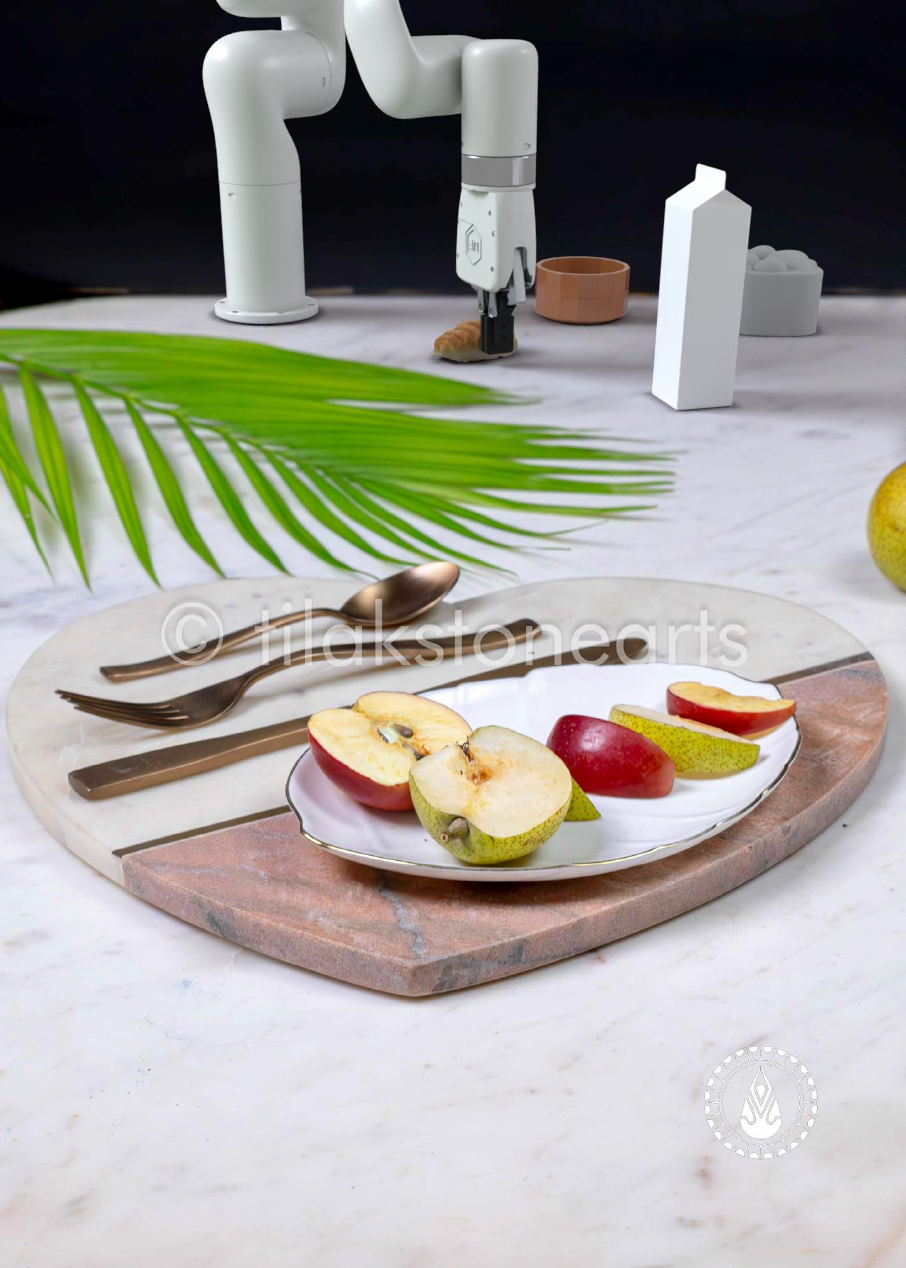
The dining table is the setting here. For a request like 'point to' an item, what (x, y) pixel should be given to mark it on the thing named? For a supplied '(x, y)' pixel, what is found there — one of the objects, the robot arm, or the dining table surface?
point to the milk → (700, 293)
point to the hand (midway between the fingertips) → (496, 351)
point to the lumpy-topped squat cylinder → (780, 293)
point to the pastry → (464, 343)
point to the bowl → (581, 289)
